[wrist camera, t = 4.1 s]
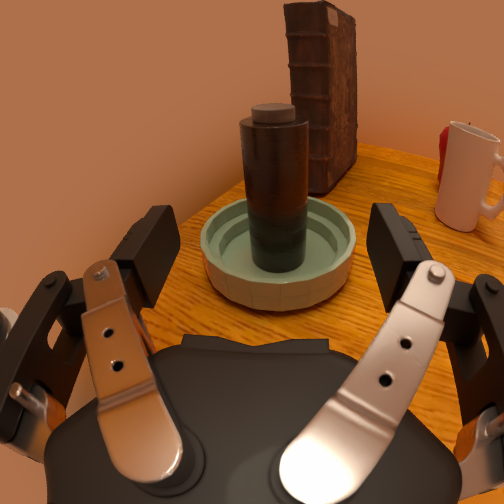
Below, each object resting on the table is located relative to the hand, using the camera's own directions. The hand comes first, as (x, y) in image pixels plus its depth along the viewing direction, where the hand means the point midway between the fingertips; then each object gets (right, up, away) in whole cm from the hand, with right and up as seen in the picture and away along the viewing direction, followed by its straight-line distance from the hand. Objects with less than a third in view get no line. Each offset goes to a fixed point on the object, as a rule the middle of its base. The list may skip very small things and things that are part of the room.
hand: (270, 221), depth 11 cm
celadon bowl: (+2, -2, +15) cm, 15 cm away
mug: (+26, +2, +18) cm, 31 cm away
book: (+10, +11, +30) cm, 34 cm away
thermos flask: (+2, -1, +15) cm, 15 cm away
